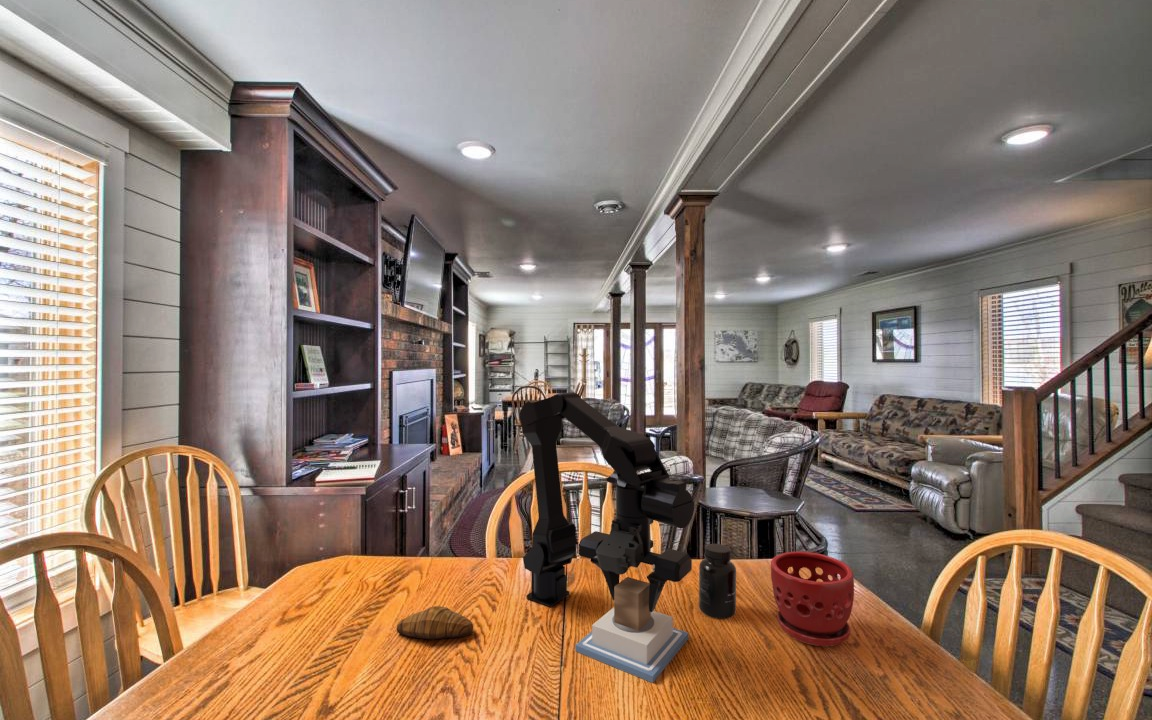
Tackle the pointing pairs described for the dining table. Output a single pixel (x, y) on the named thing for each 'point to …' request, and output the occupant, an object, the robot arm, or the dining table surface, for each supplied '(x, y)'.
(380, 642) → the dining table surface
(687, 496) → the robot arm
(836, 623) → the plant pot
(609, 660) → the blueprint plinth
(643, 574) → the dining table surface
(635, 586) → the walnut block
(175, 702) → the dining table surface
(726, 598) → the supplement bottle
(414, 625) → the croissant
